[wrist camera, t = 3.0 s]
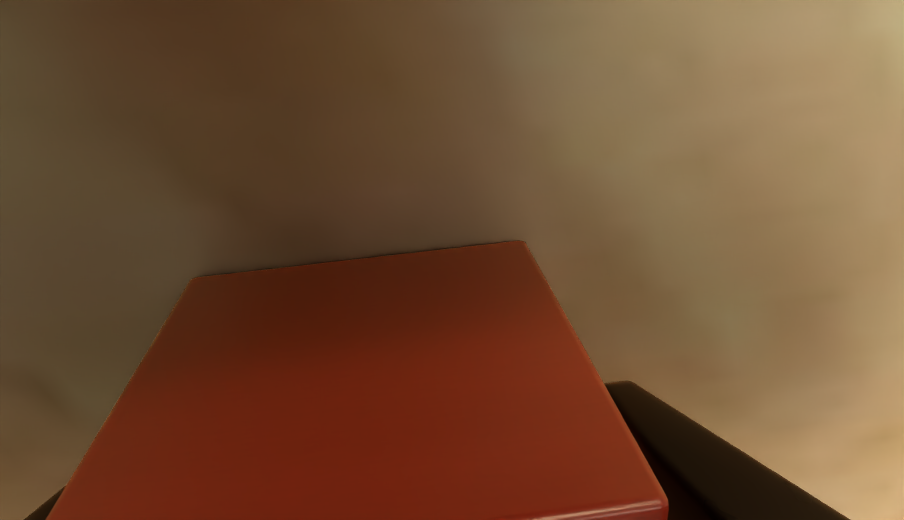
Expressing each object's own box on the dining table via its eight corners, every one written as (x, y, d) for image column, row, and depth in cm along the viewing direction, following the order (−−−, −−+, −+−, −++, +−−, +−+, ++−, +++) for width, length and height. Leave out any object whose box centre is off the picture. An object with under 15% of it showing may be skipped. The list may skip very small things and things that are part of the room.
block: (189, 275, 8) (-15, 605, 4) (525, 237, 8) (676, 502, 4) (262, 514, 9) (182, 896, 6) (529, 475, 10) (631, 810, 6)
